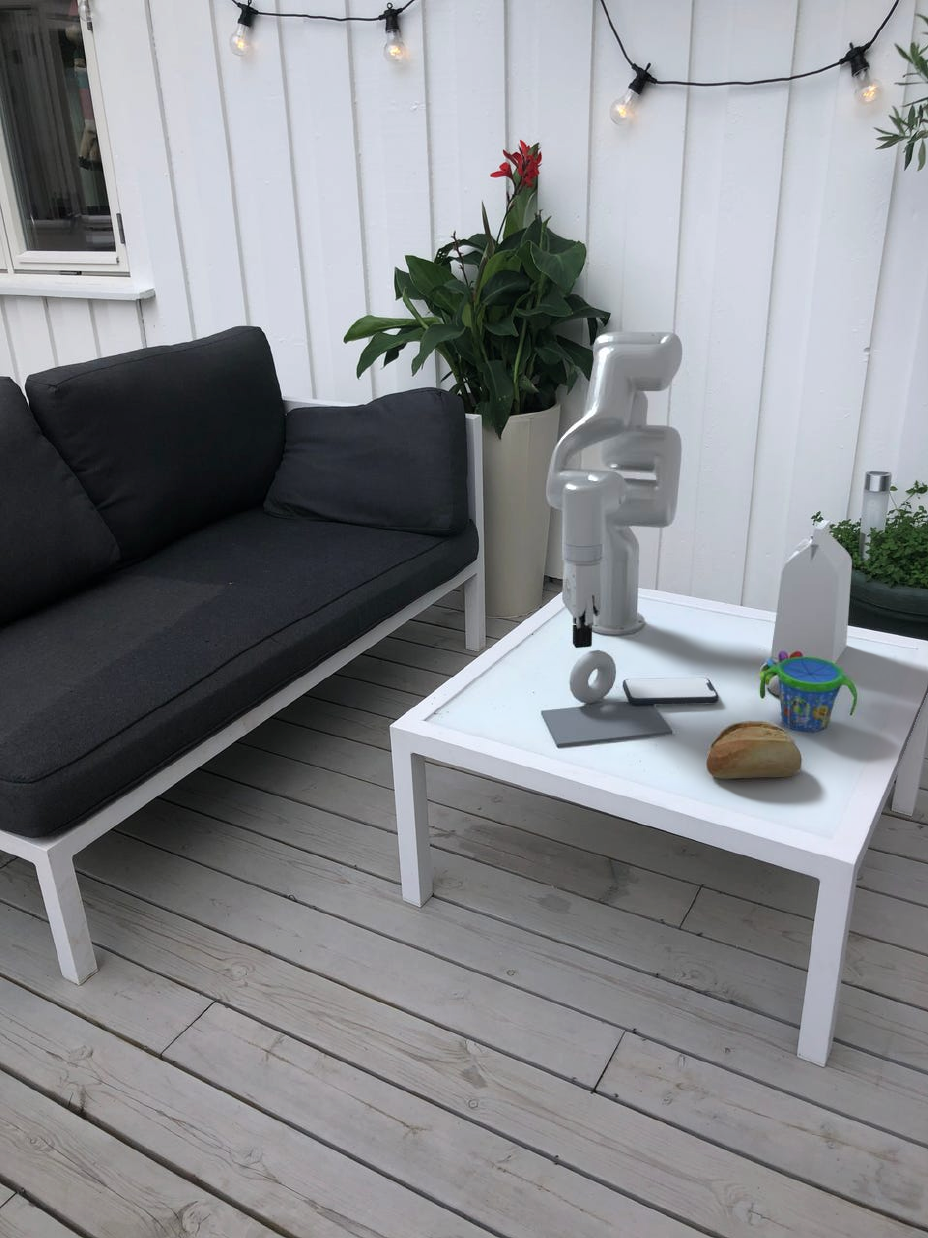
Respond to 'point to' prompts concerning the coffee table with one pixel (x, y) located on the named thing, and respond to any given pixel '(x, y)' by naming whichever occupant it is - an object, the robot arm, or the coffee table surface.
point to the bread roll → (753, 752)
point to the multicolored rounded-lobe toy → (773, 677)
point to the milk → (814, 599)
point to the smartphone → (670, 691)
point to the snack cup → (808, 691)
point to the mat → (604, 723)
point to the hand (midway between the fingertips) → (582, 645)
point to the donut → (583, 672)
